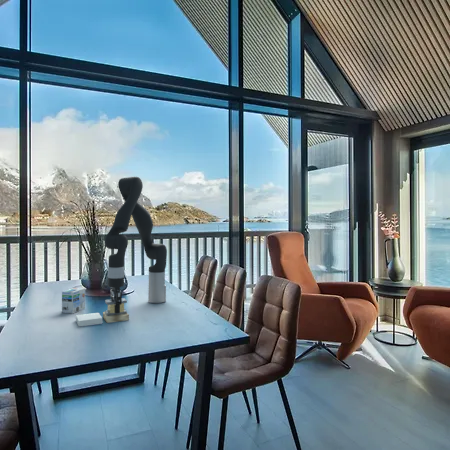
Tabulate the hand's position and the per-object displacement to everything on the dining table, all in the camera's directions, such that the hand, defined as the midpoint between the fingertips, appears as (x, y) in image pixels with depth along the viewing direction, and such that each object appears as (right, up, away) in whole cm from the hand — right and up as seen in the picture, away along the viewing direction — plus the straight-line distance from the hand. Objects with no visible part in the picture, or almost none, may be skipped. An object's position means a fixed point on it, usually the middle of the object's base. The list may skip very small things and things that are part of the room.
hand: (115, 311), depth 169 cm
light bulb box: (-26, -3, +13) cm, 29 cm away
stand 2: (0, -3, 0) cm, 3 cm away
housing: (0, -1, 0) cm, 1 cm away
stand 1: (-11, -3, -6) cm, 12 cm away
